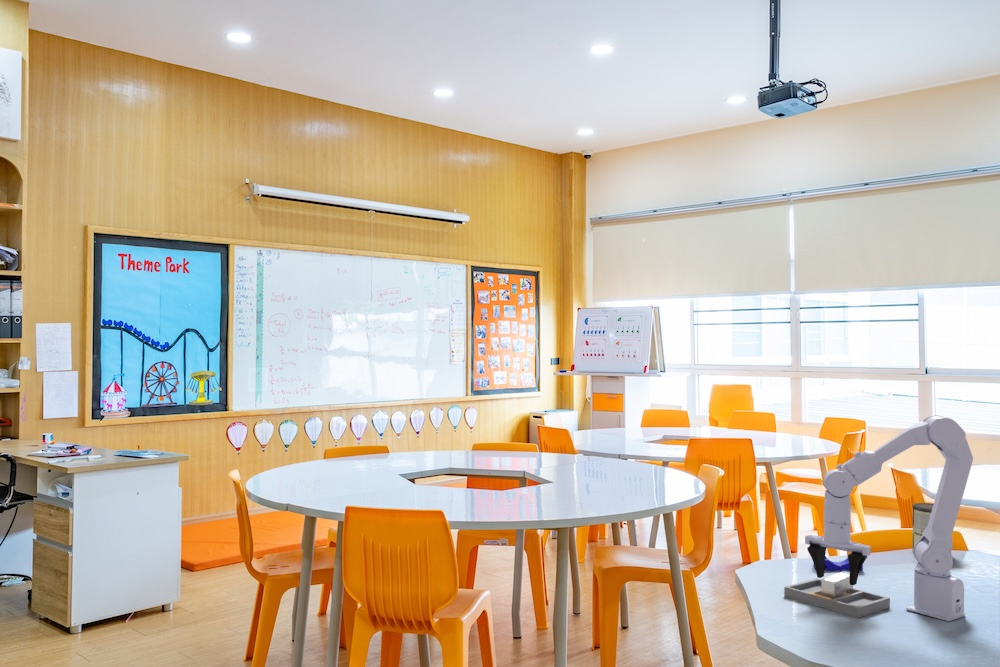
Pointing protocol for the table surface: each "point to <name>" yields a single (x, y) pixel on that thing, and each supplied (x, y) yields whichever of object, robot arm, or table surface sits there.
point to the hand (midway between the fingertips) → (836, 580)
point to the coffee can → (920, 519)
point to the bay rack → (838, 599)
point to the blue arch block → (836, 565)
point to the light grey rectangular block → (836, 586)
